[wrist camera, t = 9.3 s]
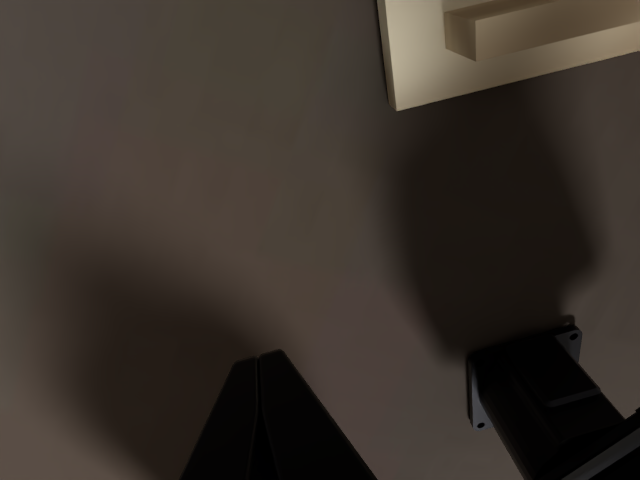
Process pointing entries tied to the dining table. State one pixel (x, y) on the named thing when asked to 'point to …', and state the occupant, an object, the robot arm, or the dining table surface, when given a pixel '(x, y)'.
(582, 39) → the gauge bed
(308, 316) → the dining table surface
